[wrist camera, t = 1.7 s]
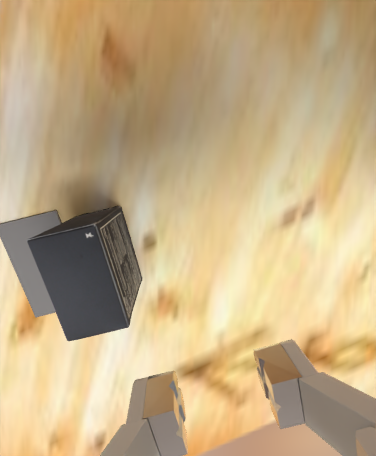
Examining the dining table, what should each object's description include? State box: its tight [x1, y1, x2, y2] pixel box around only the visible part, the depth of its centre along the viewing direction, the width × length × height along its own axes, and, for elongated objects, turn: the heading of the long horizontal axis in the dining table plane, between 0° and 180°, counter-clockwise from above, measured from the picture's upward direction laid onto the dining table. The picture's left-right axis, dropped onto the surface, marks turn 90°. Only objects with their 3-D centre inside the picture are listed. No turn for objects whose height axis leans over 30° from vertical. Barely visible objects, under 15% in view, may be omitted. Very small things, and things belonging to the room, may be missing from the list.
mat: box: [0, 210, 62, 317], centre depth 31 cm, size 8×13×1 cm, turn 13°
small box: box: [27, 206, 142, 341], centre depth 26 cm, size 11×6×10 cm, turn 13°
